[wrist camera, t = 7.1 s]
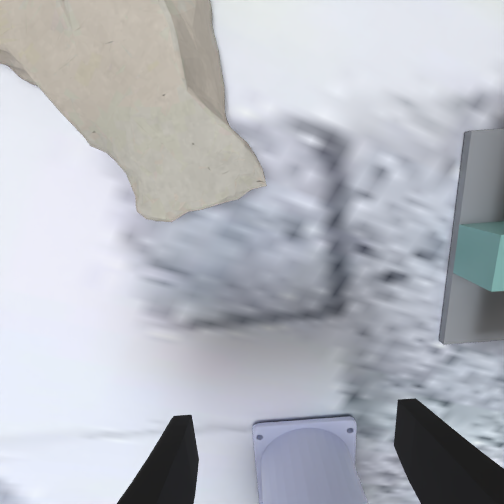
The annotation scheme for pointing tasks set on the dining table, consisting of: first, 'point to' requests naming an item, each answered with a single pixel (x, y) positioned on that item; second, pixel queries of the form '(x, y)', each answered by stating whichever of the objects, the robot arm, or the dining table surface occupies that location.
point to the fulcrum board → (473, 206)
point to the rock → (138, 93)
